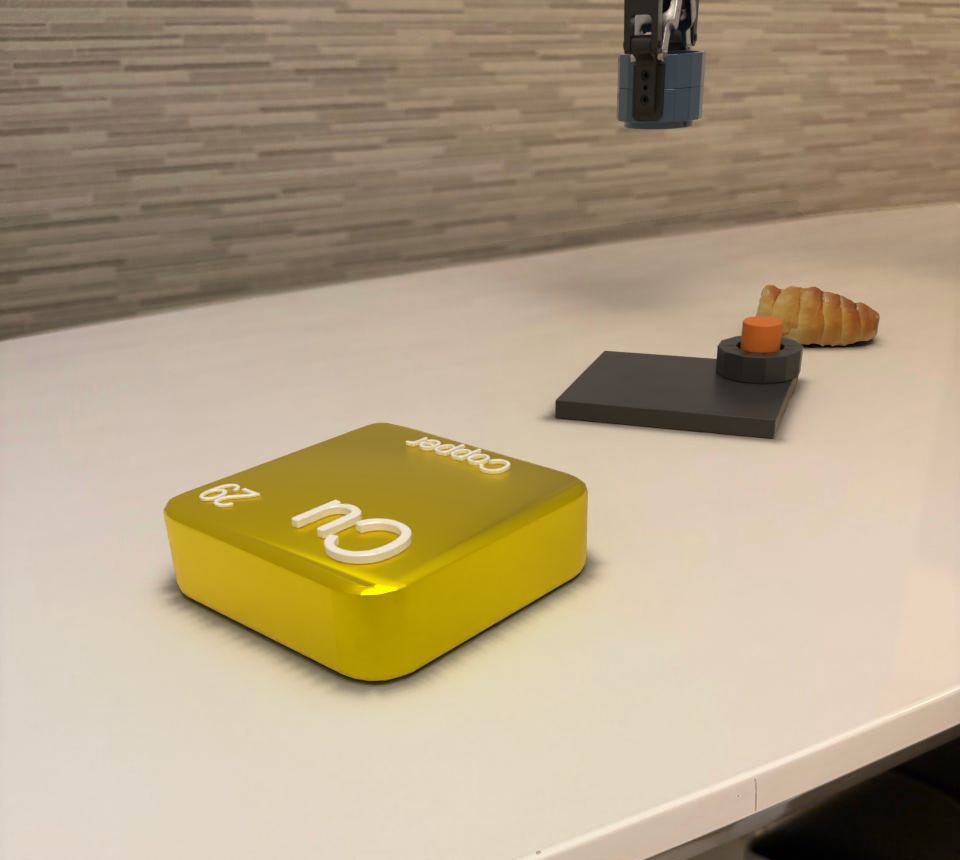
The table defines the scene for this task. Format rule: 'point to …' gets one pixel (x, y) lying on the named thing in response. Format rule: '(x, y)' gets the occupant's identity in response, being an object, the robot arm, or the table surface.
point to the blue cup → (666, 90)
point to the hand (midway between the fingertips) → (658, 115)
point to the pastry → (818, 316)
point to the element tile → (378, 546)
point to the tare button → (761, 334)
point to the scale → (688, 390)
